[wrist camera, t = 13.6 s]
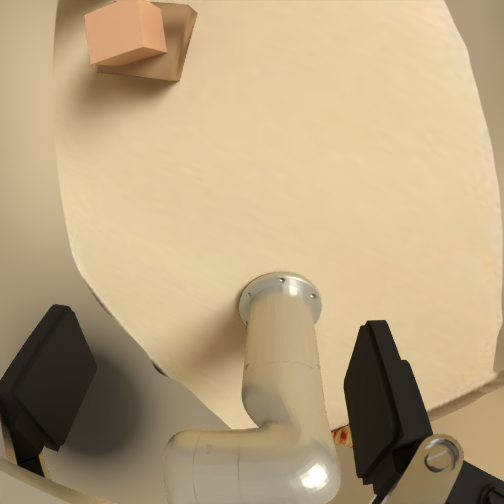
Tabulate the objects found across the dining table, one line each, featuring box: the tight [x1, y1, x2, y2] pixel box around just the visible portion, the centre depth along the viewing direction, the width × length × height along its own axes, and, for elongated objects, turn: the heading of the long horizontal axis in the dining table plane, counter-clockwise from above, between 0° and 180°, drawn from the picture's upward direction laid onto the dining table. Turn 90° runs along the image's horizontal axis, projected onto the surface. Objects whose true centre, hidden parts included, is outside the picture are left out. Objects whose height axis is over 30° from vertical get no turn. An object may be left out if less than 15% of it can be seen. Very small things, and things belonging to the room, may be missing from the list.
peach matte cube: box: [84, 0, 167, 66], centre depth 24 cm, size 6×6×7 cm
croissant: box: [331, 425, 353, 448], centre depth 65 cm, size 21×10×8 cm, turn 107°
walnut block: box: [97, 2, 198, 81], centre depth 30 cm, size 9×9×5 cm
